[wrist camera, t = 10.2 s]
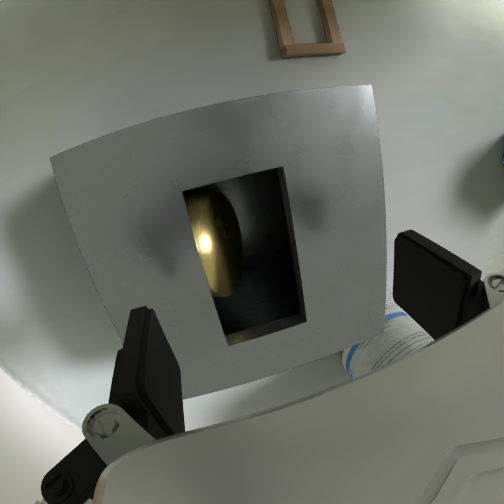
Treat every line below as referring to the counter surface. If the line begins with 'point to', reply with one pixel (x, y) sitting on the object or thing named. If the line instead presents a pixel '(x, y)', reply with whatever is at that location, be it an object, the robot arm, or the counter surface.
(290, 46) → the cradle
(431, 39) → the counter surface
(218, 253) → the coin
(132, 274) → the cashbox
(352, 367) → the supplement tub
